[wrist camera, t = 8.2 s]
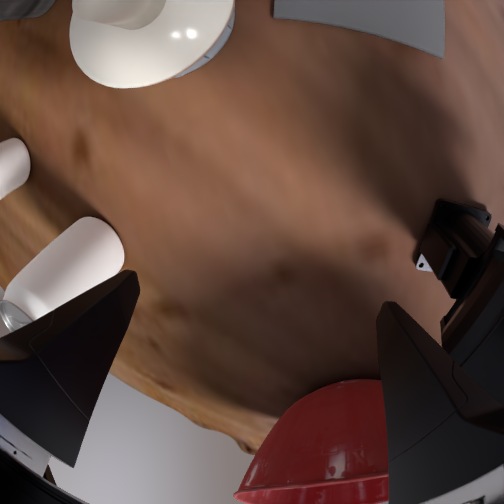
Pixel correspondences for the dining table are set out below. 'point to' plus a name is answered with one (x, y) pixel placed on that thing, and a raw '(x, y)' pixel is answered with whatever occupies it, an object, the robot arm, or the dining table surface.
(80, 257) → the can
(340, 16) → the mat
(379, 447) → the mixing bowl
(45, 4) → the beverage cup
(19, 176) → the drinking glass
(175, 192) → the dining table surface
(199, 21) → the lid
